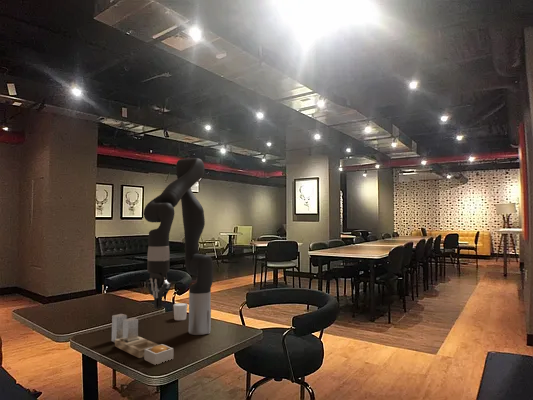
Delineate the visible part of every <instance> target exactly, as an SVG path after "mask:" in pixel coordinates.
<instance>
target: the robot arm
mask: <svg viewBox="0 0 533 400" xmlns="http://www.w3.org/2000/svg"><path fill="white" fill-rule="evenodd" d="M175 171H176V173H175V174H176V179H175V180H173V181H172V182H171V183H170V184H168V185H167V186H166V187H165V188H164V190H162V191H161V193H160V194H159V195H157V196H156V197H154V198H153V199H151V201H149V202H148V203H147V204H146V205H145V207H144V210H143V217H144V219H145V220H146V221H147V222H149V223H160V224H159V226H158V228H155V229H151V230H149V232H148V248H147V267H146V268H147V273H148V274H149V279H146V280H145V284H146V286H147V289H148V292H149V295H150V296H152V297H153V308H154V309H156V310H158V309H159V310H160V309H161V308H162V307H163V298H164V297H167V295H168V293H169V291H170V289H171V287H172V282H169V281H168V275H167V274H168V273H169V272H170V264H171V263H170V261H171V259H170V254H171V253H170V234H171V233H170V232H171V229H172V225H173V221H174V220H175V208H176V206H177V205H178V204H179V202H181V204H180V205H181V214H182V224H183V233H184V244H185V245H184V246H185V247H184V248H185V251H184V255H185V256H184V258H185V259H184V261H185V262H184V263H185V269H186V272H187V273H188V274H189V275H191V276H196V277H197V278H196V279H197V280H196V281H195V282H194V283H192V284H189V288H188V292H189V293H188V334H189V335H194V336H201V335H207V334H210V333H211V328H212V327H211V326H212V308H211V307H212V305H211V302H212V301H211V296H212V295H211V293H212V290H211V289H212V285H213V278H214V261H213V258H212V257H211V256H210V255H208V254H200V251H199V250H200V249H199V242H200V238H201V236H202V234H203V231H204V229H205V224H206V223H205V222H206V220H205V210H204V207H203V205H202V204H201V203H200V201H199V199H197V197H196V195H194V192H193V191H192V187H193V186H194V185H195V184H196V183H197V182H198V181H199V180H200V179H202V177H203V176H204V174H205V164H204V162H203V160H202V159H201V158H198V157H191V158H189V157H188V158H180V159H178V160H177V162H176V165H175Z"/></svg>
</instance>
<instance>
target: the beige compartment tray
mask: <svg viewBox="0 0 533 400" xmlns="http://www.w3.org/2000/svg"><path fill="white" fill-rule="evenodd" d="M157 345H160V344H159V343H156V342H154V341H151V340H148V339H146V338H143V337H141V336H139V335H138V340H135V341H132V342H128V343H126V342H124V341H123V338H120V339H116V340H115V342H114V347H116V348H117V349H120V350H121V351H124V352H126V353H128V354H130V355H132V356H134V357H136V358H138V359H141V358H144V352H145V349H147V348H151V347H154V346H157Z"/></svg>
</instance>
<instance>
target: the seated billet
mask: <svg viewBox="0 0 533 400" xmlns="http://www.w3.org/2000/svg"><path fill="white" fill-rule="evenodd" d="M138 336H139V318H136V317H129V318H127V319H124V320H123V341H124V342H126V343H128V342H132V341H135V340H138Z"/></svg>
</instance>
